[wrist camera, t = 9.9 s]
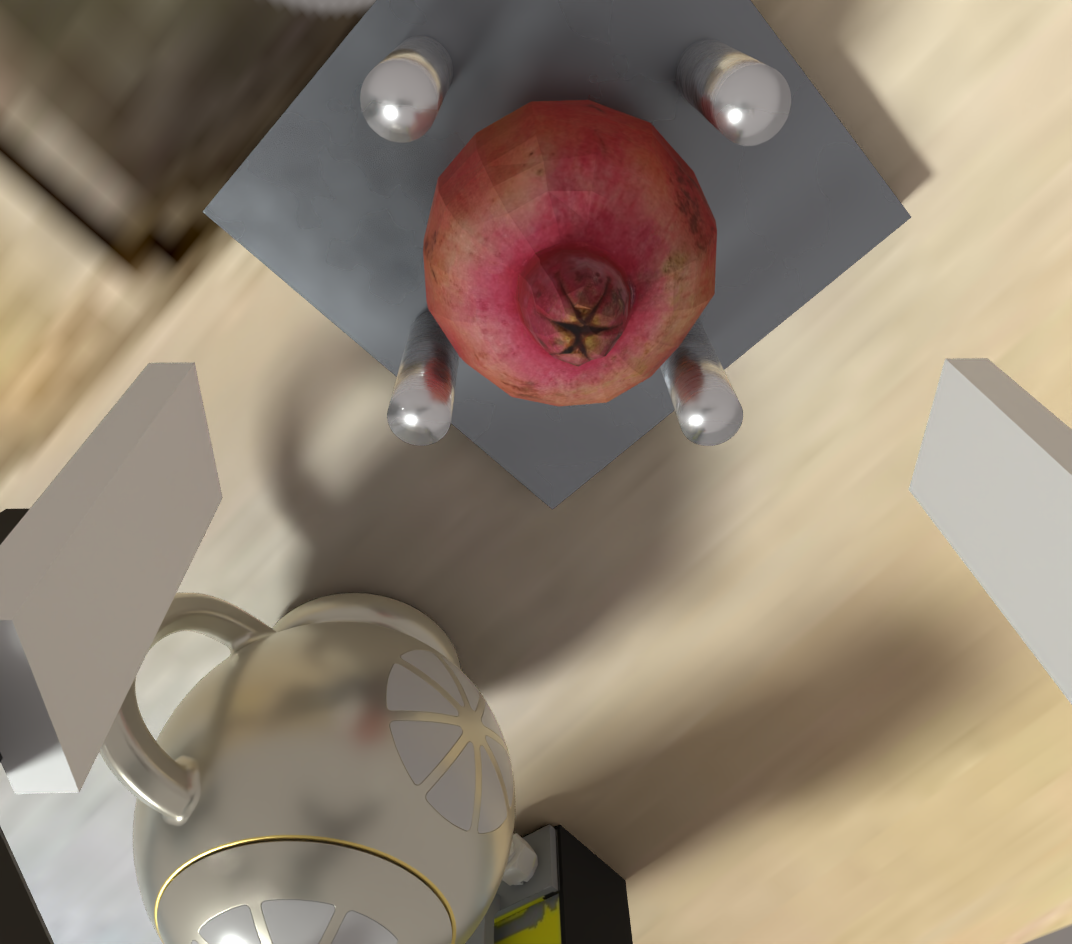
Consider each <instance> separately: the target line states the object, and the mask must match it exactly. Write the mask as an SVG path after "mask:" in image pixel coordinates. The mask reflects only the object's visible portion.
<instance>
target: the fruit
mask: <svg viewBox="0 0 1072 944" xmlns="http://www.w3.org/2000/svg"><path fill="white" fill-rule="evenodd" d="M716 247H717V227H716V220H715V218H714V216H713V214H712V211H711V209H710V207H709V205H708V202H707V200H706V198H705V196H704V193H703V191H702V189H701V187H700V184H699V182H698V180H697V178H696V175H695V173H694V171H693V170H692V169H691V168H690V167H689V166H688V164H687V163H686V162H685V161H684V160H683V159H682V158H681V157H680V155H679V154H678V153H677V152H676V151H675V150H674V149H673V148H672V146H671V145H670V144H669V143H668V142H667V141H666V140H665V138H664V137H663V136H662V135H661V134H660V133H659V132H658V131H657V129H656V128H655V127H654V126H653V125H652V124H651V123H650V122H647V121H644V120H642V119H639V118H636V117H634V116H631V115H628V114H626V113H623V112H620V111H617V110H615V109H612V108H609V107H607V106H604V105H601V104H599V103H596V102H593V101H590V100H564V101H531V102H529V103H527V104H526V105H524V106H522V107H520V108H519V109H517V110H515V111H513V112H512V113H510V114H508V115H506V116H505V117H503V118H501V119H499V120H498V121H496V122H494V123H492V124H491V125H489V126H487V127H485V128H484V129H482V130H480V131H479V132H477V133H476V134H475V135H474V136H473V137H472V138H471V140H470V141H469V142H468V143H467V144H466V145H465V147H464V148H463V149H462V150H461V151H460V153H459V154H458V155H457V156H456V157H455V158H454V160H453V161H452V162H451V163H450V164H449V166H448V167H447V168H446V169H445V170H444V172H443V173H442V174H441V175H440V176H439V177H438V181H437V185H436V189H435V193H434V198H433V202H432V206H431V211H430V215H429V219H428V223H427V228H426V232H425V236H424V242H423V257H424V272H425V287H426V301H427V305H428V309H429V311H430V312H431V314H432V315H433V317H434V318H435V320H436V321H437V323H438V324H439V326H440V327H441V329H442V331H443V332H444V334H445V335H446V337H447V338H448V340H449V341H450V343H451V344H452V346H453V347H454V349H455V350H456V352H457V353H458V355H459V357H460V358H461V359H462V360H463V361H464V362H465V363H466V364H468V365H469V366H470V367H472V368H473V369H474V370H476V371H477V372H479V373H480V374H481V375H483V376H484V377H485V378H487V379H488V380H489V381H491V382H492V383H493V384H495V385H496V386H498V387H499V388H500V389H502V390H503V391H504V392H506V393H507V394H508V395H510V396H511V397H514V398H519V399H524V400H529V401H534V402H539V403H544V404H549V405H554V406H571V405H583V404H595V403H607V402H609V401H610V400H612V399H614V398H615V397H617V396H619V395H621V394H622V393H624V392H626V391H627V390H629V389H631V388H632V387H634V386H636V385H638V384H639V383H641V382H643V381H644V380H646V379H648V378H650V377H651V376H652V375H653V374H654V373H655V372H656V371H657V370H658V369H659V367H660V366H661V365H662V364H663V363H664V362H665V361H666V360H667V359H668V358H669V357H670V356H671V354H672V353H673V352H674V351H675V350H676V349H677V348H678V347H679V346H680V345H681V343H682V342H683V340H684V339H685V337H686V336H687V334H688V333H689V331H690V330H691V328H692V327H693V325H694V324H695V322H696V321H697V319H698V318H699V316H700V315H701V313H702V312H703V310H704V309H705V307H706V306H707V304H708V303H709V301H710V300H711V298H712V297H713V296H714V294H715V271H716Z"/></svg>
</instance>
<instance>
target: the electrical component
mask: <svg viewBox="0 0 1072 944" xmlns="http://www.w3.org/2000/svg"><path fill="white" fill-rule="evenodd" d="M465 944H633V942H632V934H631V925H630V917H629V908H628V900H627V891H626V883H625V880H624V879H623V878H622V877H621V876H619V875H618V874H617V873H616V872H615V871H614V870H612V869H611V868H610V867H609V866H608V865H607V864H605V863H604V862H603V861H602V860H601V859H600V858H598V857H597V856H596V855H595V854H594V853H592V852H591V851H590V850H589V849H588V848H587V847H585V846H584V845H583V844H582V843H581V842H580V841H578V840H577V839H576V838H575V837H574V836H573V835H571V834H570V833H569V832H568V831H567V830H565V829H564V828H563V827H562V826H561V825H559V826H557V827H555V828H553V827H552V826H551V825H550V824H549V825H547V826H545V827H543V828H541V829H539V830H537V831H535V832H533V833H531V834H529V835H527V836H525V837H523V838H522V837H520V836H519V835H518V834H517V833H515V834H513V839H512V844H511V850H510V854H509V858H508V862H507V865H506V868H505V872H504V875H503V878H502V880H501V883H500V885H499V888H498V890H497V892H496V895H495V897H494V899H493V901H492V903H491V905H490V907H489V909H488V911H487V912H486V914H485V916H484V917H483V919H482V921H481V922H480V924H479V925H478V927H477V928H476V930H475V931H474V933H473V934H472V935H471V937H470V938H469V939H468V941H467V942H466V943H465Z"/></svg>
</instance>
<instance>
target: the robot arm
mask: <svg viewBox="0 0 1072 944" xmlns="http://www.w3.org/2000/svg"><path fill="white" fill-rule="evenodd" d="M909 491H910V492H911V493H912V495H913V496H914V497H915V499H916V500H917V501H918V502H919V504H920V505H921V506H922V508H923V509H924V510H925V512H926V513H927V514H928V516H929V517H930V518H931V520H932V521H933V522H934V524H935V525H936V526H937V528H938V529H939V530H940V532H941V533H942V534H943V535H944V537H945V538H946V539H947V541H948V542H949V543H950V545H951V546H952V547H953V549H954V550H955V551H956V553H957V554H958V555H959V557H960V558H961V559H962V561H963V562H964V563H965V564H966V566H967V567H968V568H969V570H970V571H971V572H972V574H973V575H974V576H975V578H976V579H977V580H978V582H979V583H980V584H981V586H982V587H983V588H984V590H985V591H986V592H987V594H988V595H989V596H990V597H991V599H992V600H993V601H994V603H995V604H996V605H997V607H998V608H999V609H1000V611H1001V612H1002V613H1003V615H1004V616H1005V617H1006V619H1007V620H1008V621H1009V623H1010V624H1011V625H1012V627H1013V628H1014V629H1015V630H1016V632H1017V633H1018V634H1019V636H1020V637H1021V638H1022V640H1023V641H1024V642H1025V644H1026V645H1027V646H1028V648H1029V649H1030V650H1031V652H1032V653H1033V654H1034V656H1035V657H1036V658H1037V659H1038V661H1039V662H1040V663H1041V665H1042V666H1043V667H1044V669H1045V670H1046V671H1047V673H1048V674H1049V675H1050V677H1051V678H1052V679H1053V681H1054V682H1055V683H1056V685H1057V686H1058V687H1059V689H1060V690H1061V691H1062V692H1063V694H1064V695H1065V696H1066V698H1067V699H1068V700H1069V702H1070V703H1071V704H1072V429H1070V428H1069V427H1068V426H1067V425H1066V424H1064V423H1063V422H1062V421H1061V420H1060V419H1059V418H1057V417H1056V416H1055V415H1054V414H1053V413H1051V412H1050V411H1049V410H1048V409H1047V408H1046V407H1044V406H1043V405H1042V404H1041V403H1040V402H1038V401H1037V400H1036V399H1035V398H1034V397H1033V396H1031V395H1030V394H1029V393H1028V392H1027V391H1025V390H1024V389H1023V388H1022V387H1021V386H1019V385H1018V384H1017V383H1016V382H1015V381H1014V380H1012V379H1011V378H1010V377H1009V376H1008V375H1006V374H1005V373H1004V372H1003V371H1002V370H1001V369H999V368H998V367H997V366H996V365H995V364H993V363H992V362H991V361H990V360H989V359H987V358H981V359H945V362H944V365H943V369H942V372H941V376H940V380H939V383H938V387H937V390H936V394H935V397H934V401H933V405H932V408H931V412H930V415H929V419H928V423H927V426H926V430H925V433H924V437H923V441H922V444H921V448H920V451H919V455H918V459H917V462H916V466H915V469H914V473H913V477H912V480H911V484H910V487H909ZM221 500H222V493H221V488H220V483H219V478H218V473H217V469H216V464H215V459H214V454H213V449H212V444H211V440H210V435H209V430H208V425H207V420H206V415H205V411H204V406H203V401H202V396H201V391H200V386H199V382H198V377H197V372H196V367H195V363H149V364H148V365H147V366H146V367H145V368H144V370H143V371H142V372H141V373H140V375H139V376H138V377H137V378H136V379H135V381H134V382H133V383H132V384H131V386H130V387H129V388H128V389H127V390H126V392H125V393H124V394H123V395H122V397H121V398H120V399H119V400H118V401H117V403H116V404H115V405H114V406H113V408H112V409H111V410H110V411H109V413H108V414H107V415H106V416H105V417H104V419H103V420H102V421H101V422H100V424H99V425H98V426H97V427H96V428H95V430H94V431H93V432H92V433H91V435H90V436H89V437H88V438H87V439H86V441H85V442H84V443H83V444H82V446H81V447H80V448H79V449H78V450H77V452H76V453H75V454H74V455H73V457H72V458H71V459H70V460H69V461H68V463H67V464H66V465H65V466H64V468H63V469H62V470H61V471H60V473H59V474H58V475H57V476H56V477H55V479H54V480H53V481H52V482H51V484H50V485H49V486H48V487H47V488H46V490H45V491H44V492H43V493H42V495H41V496H40V497H39V498H38V499H37V501H36V502H35V503H34V504H33V506H32V507H31V508H30V509H6V510H4V511H2V512H1V513H0V762H1V763H2V766H3V768H4V770H5V772H6V775H7V777H8V779H9V781H10V784H11V786H12V788H13V790H14V792H15V794H38V793H76V792H80V790H81V788H82V786H83V784H84V782H85V779H86V777H87V775H88V773H89V771H90V769H91V767H92V765H93V763H94V761H95V759H96V757H97V755H98V753H99V751H100V749H101V747H102V745H103V742H104V740H105V738H106V736H107V734H108V732H109V730H110V728H111V726H112V724H113V722H114V720H115V718H116V716H117V714H118V712H119V710H120V708H121V705H122V703H123V701H124V699H125V697H126V695H127V693H128V691H129V689H130V687H131V685H132V683H133V681H134V679H135V677H136V675H137V673H138V671H139V668H140V666H141V664H142V662H143V660H144V658H145V656H146V654H147V652H148V650H149V648H150V646H151V644H152V642H153V640H154V638H155V636H156V634H157V631H158V629H159V627H160V625H161V623H162V621H163V619H164V617H165V615H166V613H167V611H168V609H169V607H170V605H171V603H172V601H173V599H174V597H175V594H176V592H177V590H178V588H179V586H180V584H181V582H182V580H183V578H184V576H185V574H186V572H187V570H188V568H189V566H190V564H191V562H192V560H193V557H194V555H195V553H196V551H197V549H198V547H199V545H200V543H201V541H202V539H203V537H204V535H205V533H206V531H207V529H208V527H209V525H210V523H211V520H212V518H213V516H214V514H215V512H216V510H217V508H218V506H219V504H220V502H221ZM0 944H54V942H53V940H52V938H51V936H50V934H49V932H48V929H47V927H46V925H45V923H44V921H43V918H42V916H41V914H40V912H39V910H38V908H37V905H36V903H35V901H34V899H33V897H32V894H31V892H30V890H29V888H28V886H27V884H26V881H25V879H24V877H23V875H22V873H21V870H20V868H19V866H18V864H17V862H16V860H15V857H14V855H13V853H12V851H11V849H10V846H9V844H8V842H7V840H6V838H5V836H4V833H3V831H2V829H1V827H0Z"/></svg>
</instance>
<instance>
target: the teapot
mask: <svg viewBox="0 0 1072 944" xmlns="http://www.w3.org/2000/svg"><path fill="white" fill-rule="evenodd" d="M180 631H193V632H197V633H200V634H203V635H205V636H208V637H210V638H212V639H214V640H216V641H218V642H220V643H222V644H224V645H226V646H227V647H228V648H229V649H230V652H231V654H230V657H228V658H227V659H226V660H224V661H223V662H221V663H220V664H219V665H217V666H216V667H215V668H214V669H213V670H211V671H210V672H209V673H208V674H207V675H206V676H205V677H203V678H202V679H201V680H200V681H199V682H198V683H197V684H196V685H195V686H194V688H193V689H192V690H191V691H190V692H189V693H188V694H187V695H186V696H185V698H184V699H183V700H182V701H181V703H180V704H179V705H178V706H177V708H176V709H175V710H174V712H173V713H172V715H171V716H170V718H169V719H168V721H167V723H166V724H165V726H164V727H163V729H162V731H161V733H160V735H159V736H158V738H157V740H156V741H155V739H154V738H153V737H152V735H151V733H150V732H149V730H148V728H147V727H146V725H145V723H144V721H143V719H142V716H141V714H140V711H139V708H138V704H137V699H136V692H135V681H136V677H135V679H134V681H133V683H132V685H131V687H130V689H129V691H128V693H127V695H126V697H125V699H124V701H123V703H122V705H121V708H120V710H119V712H118V714H117V716H116V718H115V720H114V722H113V724H112V726H111V728H110V730H109V732H108V734H107V736H106V738H105V740H104V742H103V745H102V747H101V749H100V751H99V752H100V754H101V756H102V757H103V759H104V761H105V762H106V764H107V765H108V767H109V768H110V770H111V771H112V772H113V774H114V775H115V776H116V777H117V779H118V780H119V781H120V782H121V783H122V784H123V785H124V786H125V787H126V788H127V789H128V790H129V791H130V792H131V793H132V794H133V795H134V796H135V797H137V799H136V805H135V811H134V821H133V854H134V865H135V871H136V877H137V882H138V886H139V890H140V893H141V897H142V900H143V903H144V906H145V908H146V911H147V914H148V916H149V918H150V920H151V922H152V925H153V927H154V929H155V930H156V932H157V934H158V936H159V937H160V939H161V941H162V942H163V944H465V943H466V942H467V941H468V939H469V938H470V937H471V935H472V934H473V933H474V931H475V930H476V928H477V927H478V925H479V924H480V922H481V921H482V919H483V917H484V916H485V914H486V912H487V911H488V909H489V907H490V905H491V903H492V901H493V899H494V897H495V895H496V892H497V890H498V888H499V885H500V883H501V880H502V878H503V875H504V872H505V868H506V865H507V862H508V858H509V854H510V850H511V844H512V839H513V832H514V822H515V786H514V777H513V771H512V765H511V761H510V757H509V753H508V749H507V745H506V742H505V739H504V736H503V734H502V731H501V729H500V726H499V724H498V722H497V720H496V718H495V716H494V714H493V712H492V710H491V709H490V707H489V705H488V703H487V702H486V700H485V699H484V697H483V696H482V694H481V693H480V692H479V690H478V689H477V688H476V686H475V685H474V684H473V683H472V681H471V680H470V679H469V678H468V677H467V676H466V675H465V674H464V673H463V672H462V671H461V668H460V663H459V659H458V656H457V653H456V651H455V648H454V646H453V644H452V643H451V641H450V639H449V638H448V637H447V635H446V634H445V633H444V631H443V630H442V629H441V628H440V627H439V626H438V625H437V624H436V623H435V622H434V621H433V620H432V619H430V618H429V617H428V616H426V615H425V614H423V613H422V612H420V611H419V610H417V609H415V608H414V607H412V606H410V605H408V604H405V603H403V602H401V601H398V600H395V599H392V598H388V597H384V596H380V595H374V594H367V593H342V594H334V595H329V596H324V597H321V598H317V599H314V600H311V601H309V602H307V603H304V604H302V605H300V606H298V607H297V608H295V609H293V610H292V611H290V612H289V613H288V614H286V615H285V616H284V617H283V618H281V619H280V620H279V621H278V622H277V623H276V624H275V626H274V627H273V628H270V627H269V626H267V625H266V624H264V623H263V622H261V621H260V620H258V619H257V618H255V617H254V616H252V615H251V614H249V613H247V612H246V611H244V610H242V609H240V608H239V607H237V606H235V605H233V604H231V603H229V602H226V601H224V600H222V599H219V598H216V597H213V596H209V595H205V594H199V593H176V594H175V597H174V599H173V601H172V603H171V605H170V607H169V609H168V611H167V613H166V615H165V617H164V619H163V621H162V623H161V625H160V627H159V629H158V631H157V634H156V636H155V638H154V640H153V642H152V644H151V646H150V648H149V650H150V649H151V648H152V647H153V646H154V645H155V644H156V643H157V642H158V641H160V640H161V639H163V638H164V637H166V636H168V635H170V634H173V633H176V632H180ZM149 650H148V651H149Z"/></svg>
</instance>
